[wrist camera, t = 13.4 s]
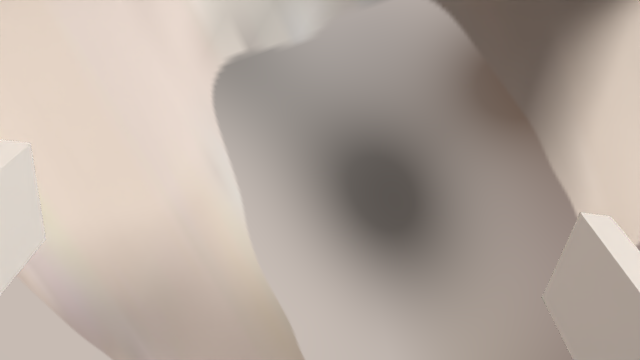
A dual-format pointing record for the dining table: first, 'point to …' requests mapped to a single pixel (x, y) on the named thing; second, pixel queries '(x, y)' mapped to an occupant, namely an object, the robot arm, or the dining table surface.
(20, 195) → the robot arm
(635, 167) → the dining table surface
